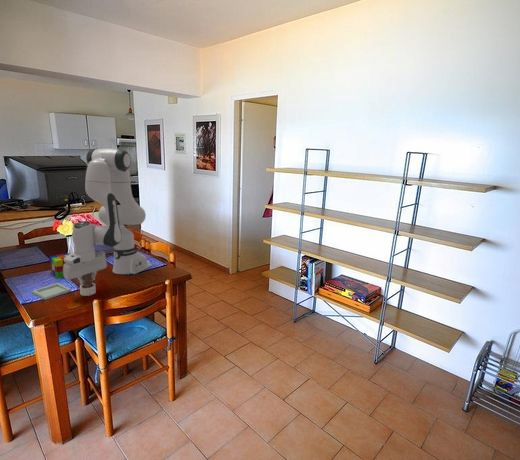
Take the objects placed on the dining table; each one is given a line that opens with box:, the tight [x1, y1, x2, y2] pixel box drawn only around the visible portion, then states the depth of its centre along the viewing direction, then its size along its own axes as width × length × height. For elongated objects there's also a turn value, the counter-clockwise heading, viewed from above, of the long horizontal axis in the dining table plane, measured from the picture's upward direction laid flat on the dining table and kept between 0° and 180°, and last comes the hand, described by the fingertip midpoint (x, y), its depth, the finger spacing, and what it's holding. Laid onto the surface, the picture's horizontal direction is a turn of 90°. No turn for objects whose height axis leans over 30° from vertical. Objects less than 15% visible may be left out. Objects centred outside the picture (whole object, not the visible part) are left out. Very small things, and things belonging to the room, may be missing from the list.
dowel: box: [81, 273, 93, 288], centre depth 162 cm, size 4×4×10 cm
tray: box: [32, 282, 72, 301], centre depth 162 cm, size 12×12×2 cm
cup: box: [79, 282, 97, 297], centre depth 163 cm, size 7×7×4 cm
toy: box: [48, 252, 71, 279], centre depth 186 cm, size 10×10×10 cm
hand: (87, 281), depth 162 cm, fingers closed on dowel, 4 cm apart
